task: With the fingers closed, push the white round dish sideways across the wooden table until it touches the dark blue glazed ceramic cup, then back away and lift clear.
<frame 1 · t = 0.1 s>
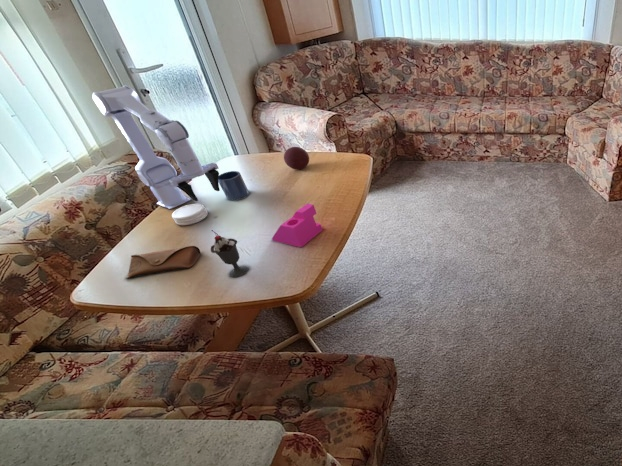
hand: (206, 195, 132), 10 cm above the table, tool pointing down, fingers open, 7 cm apart
white round dish: (192, 218, 139), on the table
cup: (238, 195, 152), on the table
decorative ball: (300, 168, 171), on the table
sunglasses case: (165, 266, 118), on the table
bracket: (298, 235, 129), on the table
sundae: (239, 272, 115), on the table
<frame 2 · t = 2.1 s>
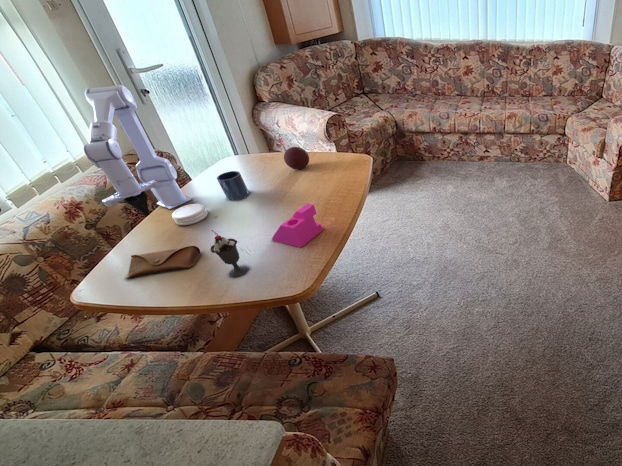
hand: (146, 214, 126), 8 cm above the table, tool pointing down, fingers closed
nothing on the table moved.
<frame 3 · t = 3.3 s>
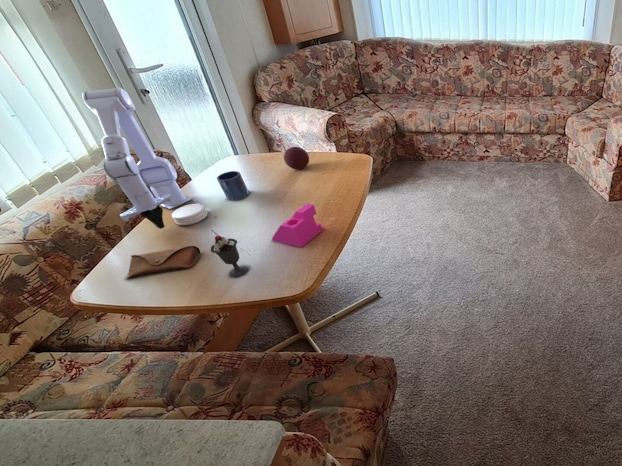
hand: (161, 227, 131), 2 cm above the table, tool pointing down, fingers closed
nothing on the table moved.
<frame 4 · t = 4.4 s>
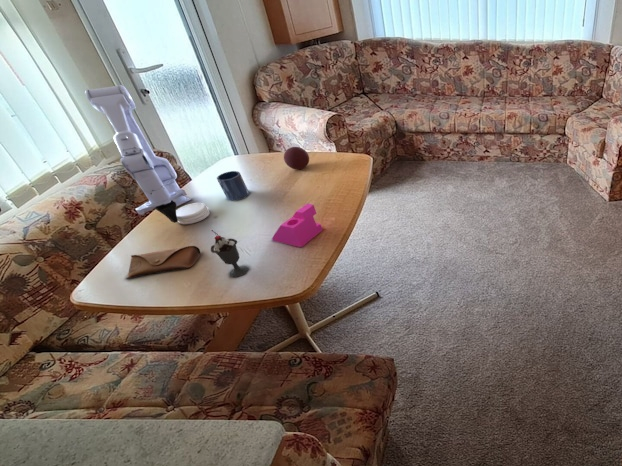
hand: (174, 221, 134), 2 cm above the table, tool pointing down, fingers closed
white round dish: (194, 217, 140), on the table, touching gripper
everything else where it was.
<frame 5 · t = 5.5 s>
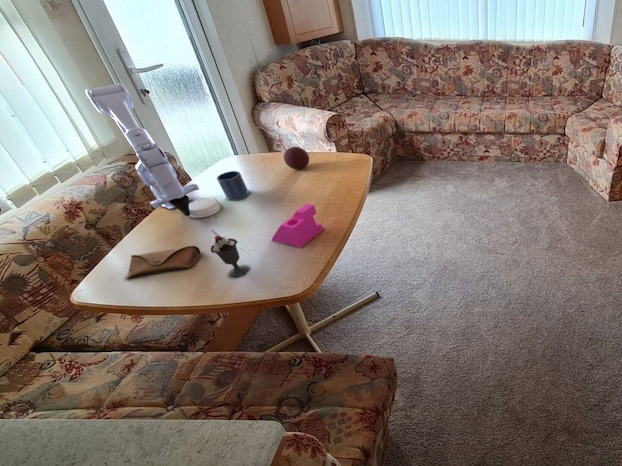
hand: (187, 215, 137), 2 cm above the table, tool pointing down, fingers closed
white round dish: (206, 211, 143), on the table, touching gripper
everything else where it was.
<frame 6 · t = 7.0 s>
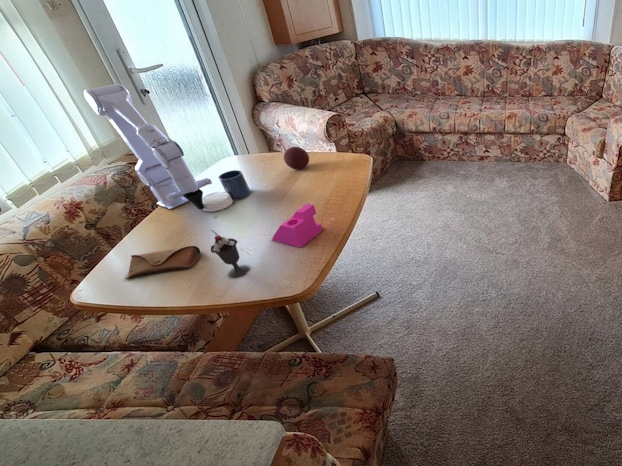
hand: (200, 208, 141), 2 cm above the table, tool pointing down, fingers closed
white round dish: (218, 205, 146), on the table, touching cup, gripper
cup: (240, 194, 153), on the table, touching white round dish
everything else where it was.
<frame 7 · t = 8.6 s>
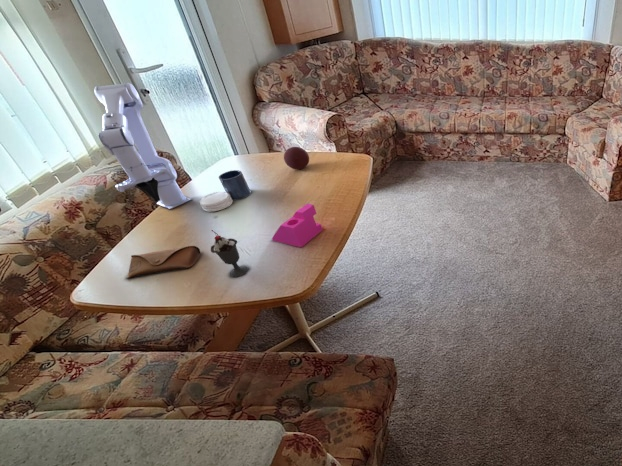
hand: (156, 200, 132), 9 cm above the table, tool pointing down, fingers closed
white round dish: (218, 205, 146), on the table, touching cup
everything else where it was.
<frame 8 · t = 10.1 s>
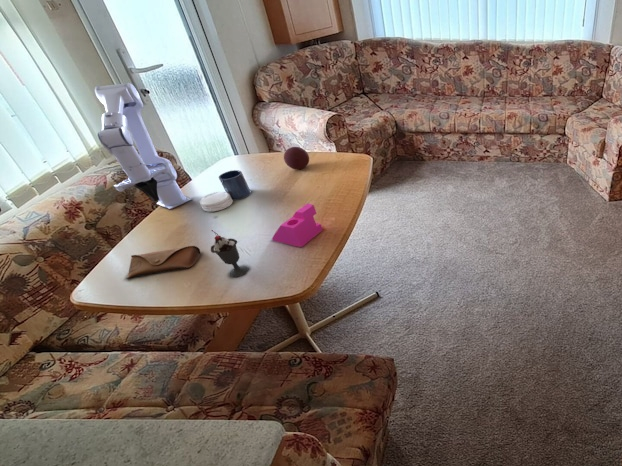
hand: (155, 200, 132), 9 cm above the table, tool pointing down, fingers closed
nothing on the table moved.
at the end: white round dish 8.9 cm from the cup (horizontally); white round dish moved 9.9 cm from its start; cup tilted 0° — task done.
